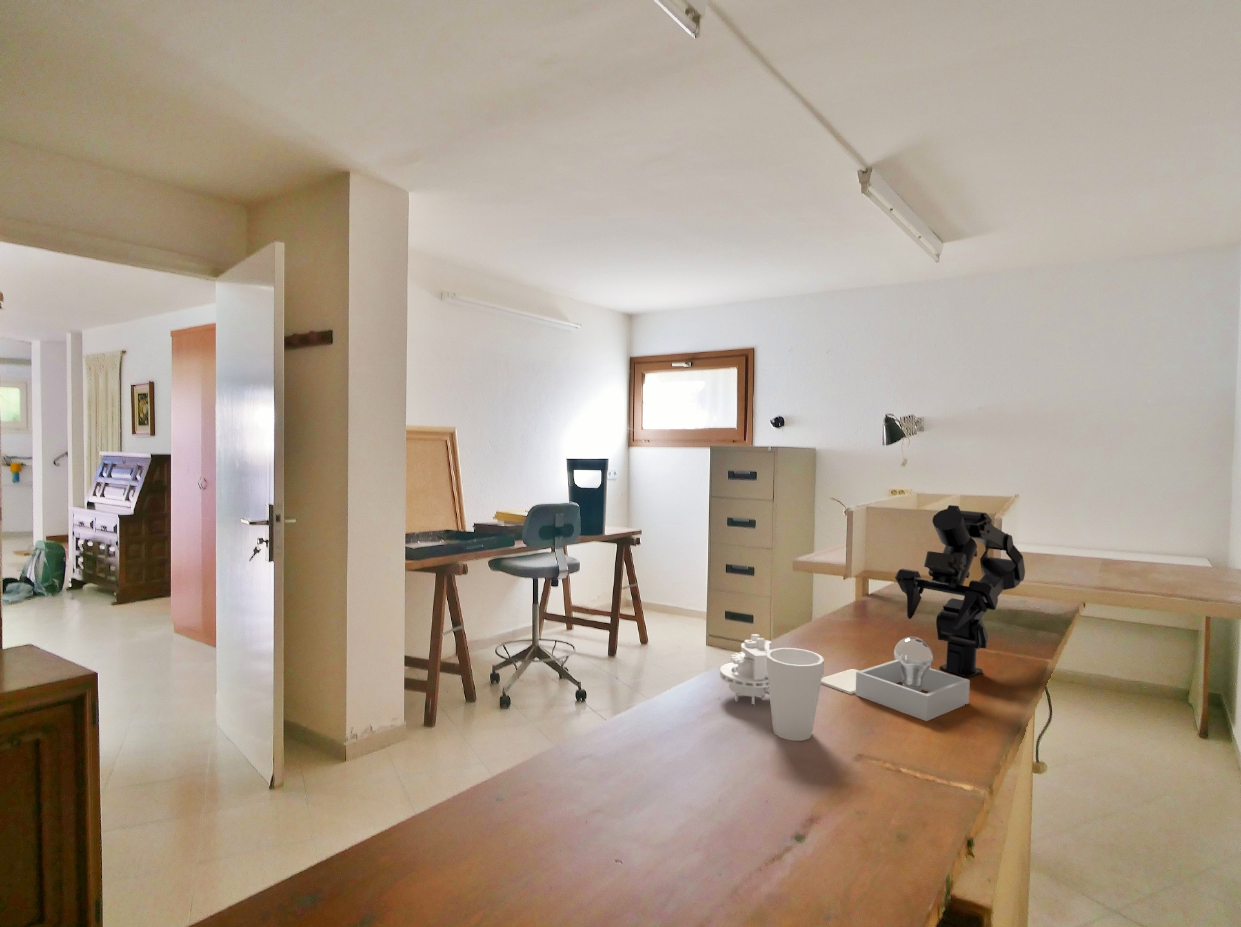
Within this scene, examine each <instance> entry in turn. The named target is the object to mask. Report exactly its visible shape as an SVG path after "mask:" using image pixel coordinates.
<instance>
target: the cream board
mask: <svg viewBox="0 0 1241 927" xmlns="http://www.w3.org/2000/svg"><path fill="white" fill-rule="evenodd" d="M858 671H860V670H859V669H854V668H850V669H847V670H843V671H840V672H837V673H834V674H830V675H827V676H824V677H823V676H822V679H821V685H823V684H824V686H826V687H829V688H831V689H833V690H834V689H835V690H837V691H840V692H842V691H843V692H842V693H845V694H848V695H853V694H856V672H858Z"/></svg>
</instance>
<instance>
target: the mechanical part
mask: <svg viewBox="0 0 1241 927" xmlns="http://www.w3.org/2000/svg"><path fill="white" fill-rule="evenodd" d="M740 648H741V650H740V651H739V652H733V654H731V655H730V661H731V662H729V663H728V662H727V663H724V664H723V665H722V666H720V668H719V677H720V679H721V680H722V681H724V682H726V683H727V684H728V688H729V690H730V691H731V692H733V693H734V702H738V701H739V695H740V696H744V697H751V705H752V704H753V705H755V704H756V703H755V699H756V698H755V697H760V696H761V701H763V700H764V701H765V698H766V695H769V696H770V693H769V683H768V673H767V669H766V653H767V652H768V651H770V650H772V641H771V640H767V639H765V638H764V637H760V634H758V633H755V634H754V633H753V634H750V639H744V642H742V643H741V645H740ZM753 705H752V706H753Z"/></svg>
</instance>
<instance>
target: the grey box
mask: <svg viewBox="0 0 1241 927" xmlns="http://www.w3.org/2000/svg"><path fill="white" fill-rule="evenodd" d="M898 683H902V684H903V683H904V682H903V681H902V678H901V672H900V670H899V668H898V666H897V664H896V662H895V659H894V660H891V661H886V662H884V663H880V664H879V665H878V664H877V665H875V666H871V667H868V668H865V669H862V670H859V671H858V672H856V693H854V695H855V696H858V697H860V698H862V699H865V700H869V701H871V702H874V703H876V704H879V705H881V706H884V707H887V708H890V709H893V710H894V711H898V712H900V713H902V714H907V715H908V716H912V717H914V718H917V719H920V720H922V721H925V722H928V721H931V720H932V719H935V718H937V717H940V716H942V715H945V714H947V713H949V712H952V711H954V710H956V709H959V708H961V707H964V706H966V705H968V704H970V702H969V701H970V684H971V681H970V679H968V678H963V677H961V676H957V675H955V674H952V673H947V672H944V671H943V670H942V671H941V670H938V669H934V668H931V667H930V669H929V670H928V671H927V673H926V674H925V676H924V679H923V683H922V684H921V690H922V689H923V690H922V691H926V692H927V693H924V692H922V691H920V692H919V691H916V690H913V689H910V688H907V687H904V686H903V685H900V684H898ZM965 704H966V705H965Z"/></svg>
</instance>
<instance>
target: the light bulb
mask: <svg viewBox="0 0 1241 927" xmlns="http://www.w3.org/2000/svg"><path fill="white" fill-rule="evenodd" d="M893 659H894V660H895V662H896V664H897V666H898V668H899V670H900V672H901V678H902V681H903V682H904V683H902V686H904V687H907V688H910V689H913V690H916V691H919V692H922V689H921V684H922V683H923V679H924V676H925V674H926V673H927V671H928V670H929V669H930V668H931V667H932V666H933V662H934V655H933V650H932V648H931V647H930V645H929V644H928V643H927V642H926V641H925V640H923V639H921V638H919V637H916V636H907V637H904V638H902V639H901V640H899V641H898V642H897V643H896V645H895V647H894V650H893Z"/></svg>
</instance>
